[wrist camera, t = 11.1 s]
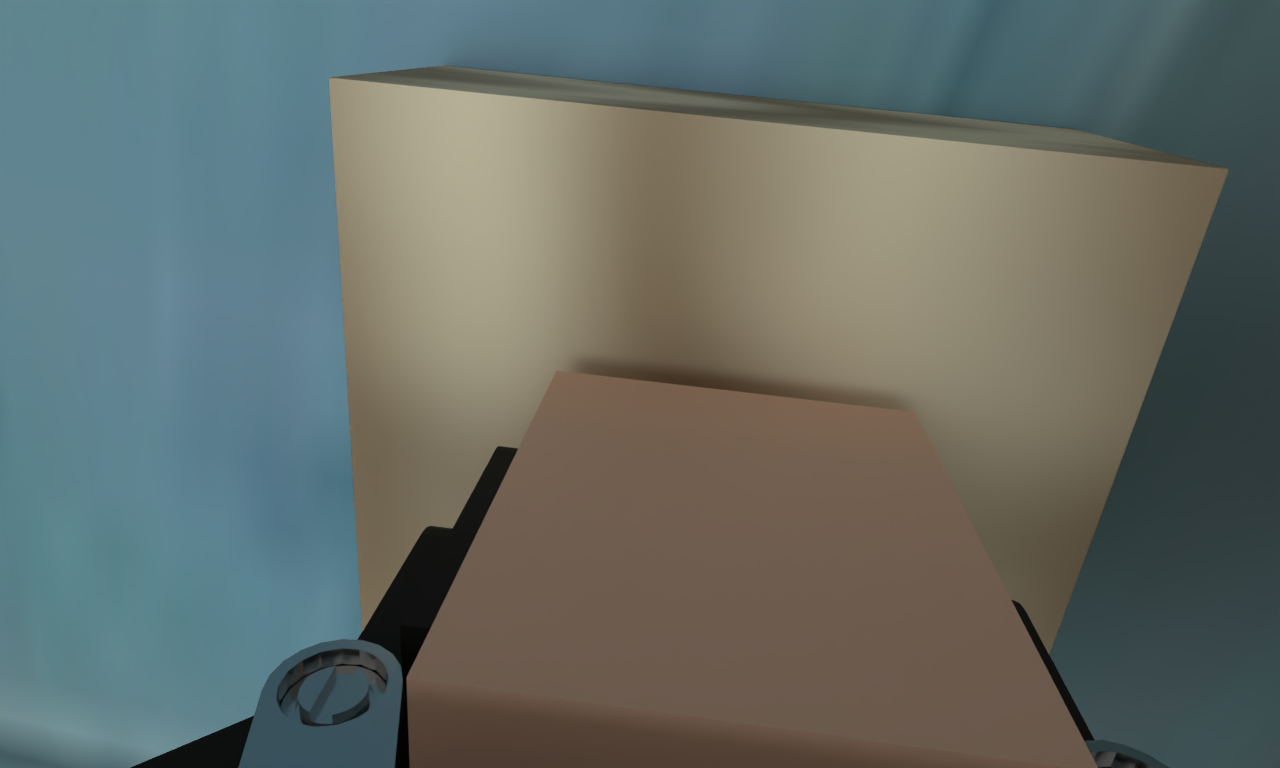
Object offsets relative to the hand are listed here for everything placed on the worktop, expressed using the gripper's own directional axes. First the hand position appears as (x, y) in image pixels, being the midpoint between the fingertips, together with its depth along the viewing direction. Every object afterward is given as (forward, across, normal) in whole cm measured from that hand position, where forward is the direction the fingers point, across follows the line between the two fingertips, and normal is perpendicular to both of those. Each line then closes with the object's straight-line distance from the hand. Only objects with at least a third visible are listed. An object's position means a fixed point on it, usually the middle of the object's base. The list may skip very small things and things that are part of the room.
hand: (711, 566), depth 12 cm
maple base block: (+7, 0, 0) cm, 7 cm away
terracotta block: (+1, 0, 0) cm, 1 cm away
